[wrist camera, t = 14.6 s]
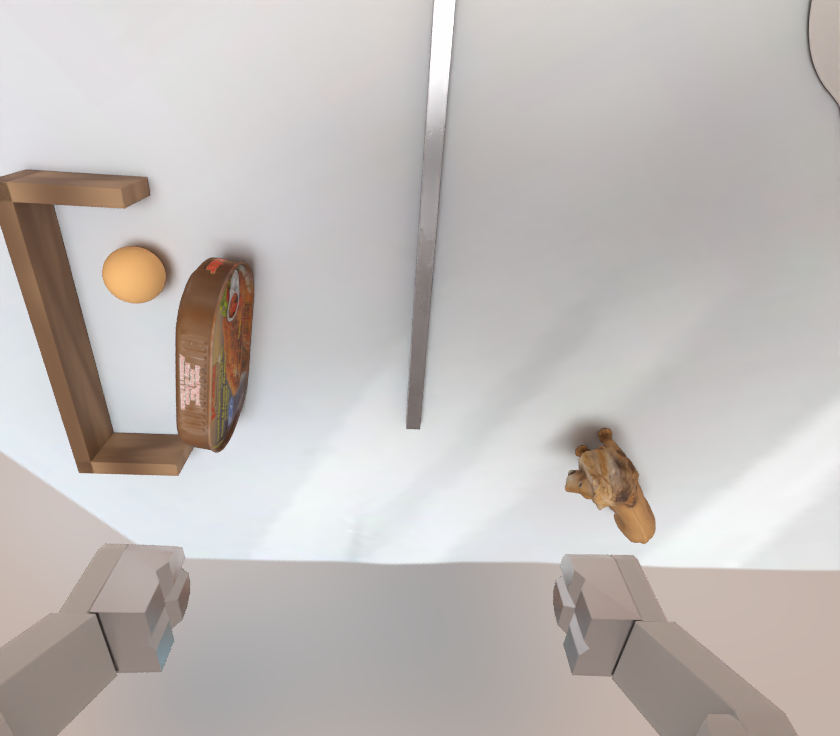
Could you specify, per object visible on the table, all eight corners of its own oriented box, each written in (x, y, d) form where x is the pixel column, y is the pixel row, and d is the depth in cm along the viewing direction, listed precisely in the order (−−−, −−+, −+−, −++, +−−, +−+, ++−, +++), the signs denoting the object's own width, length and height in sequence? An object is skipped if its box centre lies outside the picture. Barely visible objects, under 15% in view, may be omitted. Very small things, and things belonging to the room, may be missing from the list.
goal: (146, 177, 37) (120, 189, 33) (194, 446, 48) (178, 475, 45) (25, 169, 36) (-14, 180, 33) (102, 443, 48) (79, 472, 44)
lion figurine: (539, 433, 49) (565, 503, 41) (588, 400, 47) (626, 467, 39) (620, 519, 55) (657, 595, 47) (667, 493, 53) (713, 567, 45)
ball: (125, 242, 40) (91, 285, 39) (124, 228, 36) (87, 275, 35) (175, 274, 41) (144, 317, 40) (179, 264, 38) (144, 310, 37)
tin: (245, 412, 47) (217, 477, 39) (208, 406, 46) (172, 471, 39) (258, 247, 40) (225, 288, 32) (214, 238, 39) (171, 278, 32)
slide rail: (454, -19, 32) (457, -21, 31) (419, 421, 48) (420, 429, 47) (435, -20, 32) (436, -23, 31) (406, 420, 48) (406, 428, 47)
